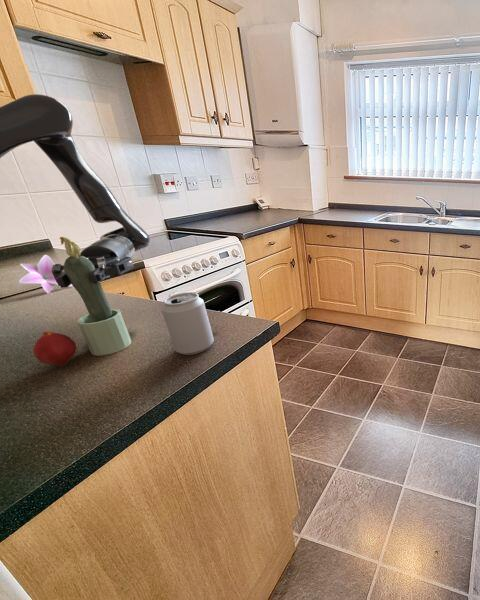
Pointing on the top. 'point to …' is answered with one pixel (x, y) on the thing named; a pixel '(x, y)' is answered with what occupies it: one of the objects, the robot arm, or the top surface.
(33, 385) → the top surface
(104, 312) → the vegetable
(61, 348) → the onion
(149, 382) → the top surface
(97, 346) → the tube
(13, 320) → the top surface
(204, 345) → the can
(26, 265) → the lily
